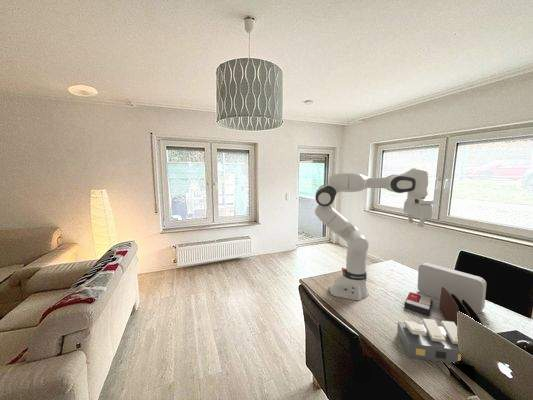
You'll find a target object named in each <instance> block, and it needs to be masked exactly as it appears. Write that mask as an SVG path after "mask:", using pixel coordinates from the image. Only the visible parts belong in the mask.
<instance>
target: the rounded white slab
mask: <svg viewBox="0 0 533 400" xmlns="http://www.w3.org/2000/svg"><path fill="white" fill-rule="evenodd" d="M417 272H418V273H417V274H418V275H417V290H418V292H420V293H422V294H424V295H425V296H427V297H430V298H433V299H436V300H439V301H440V296H441V288H442V287H444V288H445V289H446V290H447V291H448V292H449V293H450V295H451V294H454V295H455V296H456V297H457V298H458V299H459V300H460V301H461V303H462V300H465V301H466V302H467V303H468V304H469V305H470V306H471V308H472V309H473V310H474V311H475V313H476V314H477V315H478V314H480V313H482V311H483V310H484V309H485V304H486V303H485V302H486V296H487V295H486V293H487V281H486V280H485V279H484V278H483V277H481V276H478V275H474V274H471V273H467V272H463V271H459V270H456V269H453V268H452V269H451V268H449V267H445V266H442V265H438V264H434V263H430V262H423V263H422V264H420V265H418V271H417Z"/></svg>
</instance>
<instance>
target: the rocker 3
mask: <svg viewBox="0 0 533 400" xmlns="http://www.w3.org/2000/svg"><path fill="white" fill-rule="evenodd" d="M440 325H441V327H443V328H444V330H445V331H446V333H447V335H448V336H449V338H450V340H451V342H452V343H453V344H458V338H457V326H456V325H455V323H454V322H450V321H446V320H441V322H440Z"/></svg>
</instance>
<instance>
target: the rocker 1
mask: <svg viewBox="0 0 533 400" xmlns="http://www.w3.org/2000/svg"><path fill="white" fill-rule="evenodd" d="M403 322H404V325H405V326H406V327H407V328H408V329H409V330H410V332H411V333H412V334H417V335H425V331H424V330H423V329H422V328H421V327H420V326H419V325H418V324H419V323H418V322H417V321H411V320H403Z"/></svg>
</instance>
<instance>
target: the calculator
mask: <svg viewBox="0 0 533 400" xmlns="http://www.w3.org/2000/svg"><path fill="white" fill-rule="evenodd" d="M433 299H434V298H433V297H431V296H427V295H422V294H421V295H420V294H418V293H415V292H412V291H411V292H409V293H408V295H407V297H406V300H405V301H404V309H405V310H407V311H411V312H413V313H416V314H420V315H422V316H426V317H430V316H431V312H432V308H433V303H434V302H433V301H434V300H433Z"/></svg>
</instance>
